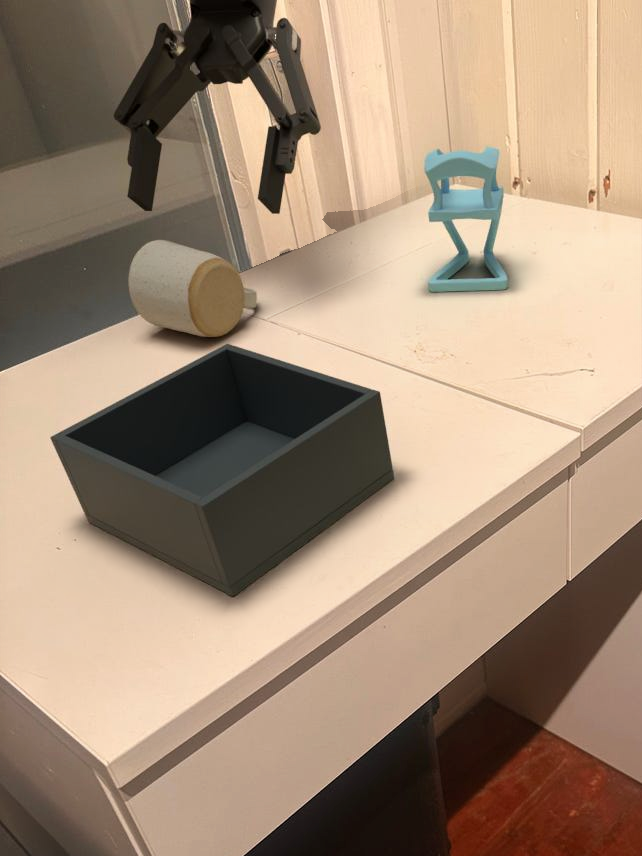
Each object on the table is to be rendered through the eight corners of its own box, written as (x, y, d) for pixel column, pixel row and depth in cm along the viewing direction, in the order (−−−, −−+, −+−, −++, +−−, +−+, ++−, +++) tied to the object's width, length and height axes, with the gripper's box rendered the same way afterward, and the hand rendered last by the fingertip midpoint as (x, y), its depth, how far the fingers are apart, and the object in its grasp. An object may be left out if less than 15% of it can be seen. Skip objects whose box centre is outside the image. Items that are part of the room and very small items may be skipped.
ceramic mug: (205, 353, 83) (181, 267, 78) (142, 338, 86) (114, 255, 81) (280, 308, 89) (262, 227, 84) (218, 296, 93) (198, 217, 87)
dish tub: (87, 522, 64) (49, 436, 60) (249, 424, 73) (227, 343, 68) (233, 597, 57) (201, 506, 52) (394, 478, 65) (380, 391, 61)
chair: (514, 257, 94) (508, 127, 86) (507, 289, 88) (499, 154, 80) (440, 259, 95) (427, 132, 87) (428, 292, 89) (413, 158, 81)
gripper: (377, 1, 84) (343, 227, 84) (146, 11, 91) (114, 222, 91) (344, -63, 77) (307, 185, 77) (95, -46, 84) (61, 182, 84)
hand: (202, 205), depth 84 cm, fingers open, 13 cm apart
